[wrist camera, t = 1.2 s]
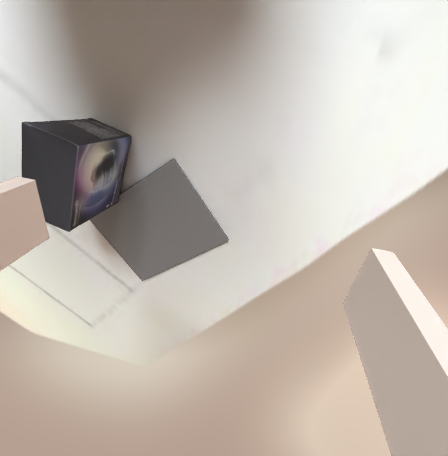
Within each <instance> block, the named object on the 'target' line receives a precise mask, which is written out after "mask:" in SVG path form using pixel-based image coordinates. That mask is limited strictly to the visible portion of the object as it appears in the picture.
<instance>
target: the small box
mask: <svg viewBox="0 0 448 456" xmlns="http://www.w3.org/2000/svg"><path fill="white" fill-rule="evenodd" d="M130 141H131V136H130V135H128V134H126V133H124V132H122V131H119V130H117V129H115V128H113V127H110V126H108V125H106V124H103V123H101V122H99V121H97V120H94V119H92V118H89V119H81V120H62V121H49V122H48V121H46V122H22V177H23V178H28V179H33V180H35V181H36V185H37V190H38V194H39V198H40V202H41V206H42V210H43V214H44V218H45V222H47V223H49V224H52V225H54V226H56V227H59V228H61V229H63V230H66V231H68V232H70V231H71V230H72V229H74V228H76V227H77V226H79V225H81V224H83V223H84V222H86V221H88V220H89V219H91V218H93V217H94V216H96V215H98V214H99V213H101V212H103V211H104V210H106V209H108V208H110V207H111V206H113V205H115V204H116V203H118V200H119V195H120V190H121V185H122V180H123V175H124V170H125V165H126V160H127V155H128V150H129V145H130Z"/></svg>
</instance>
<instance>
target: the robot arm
mask: <svg viewBox="0 0 448 456" xmlns="http://www.w3.org/2000/svg"><path fill="white" fill-rule="evenodd" d="M48 238H49V235H48V231H47V226H46V222H45V218H44V214H43V210H42V206H41V202H40V198H39V194H38V190H37V185H36V181H35V180H33V179H28V178H23V177H18V176H17V177H15V178H12V179H9V180H6V181H3V182H1V183H0V271H1V270H2V269H4V268H5V267H7V266H8V265H10V264H11V263H13V262H14V261H16V260H17V259H19V258H20V257H22V256H23V255H25V254H26V253H27V252H29V251H30V250H32V249H33V248H35V247H36V246H38V245H39V244H41V243H42V242H44V241H45V240H47V239H48ZM343 304H344V307H345V310H346V313H347V317H348V319H349V323H350V326H351V329H352V332H353V335H354V339H355V342H356V345H357V348H358V351H359V355H360V358H361V361H362V364H363V367H364V371H365V373H366V377H367V380H368V383H369V386H370V389H371V393H372V396H373V399H374V402H375V405H376V408H377V412H378V415H379V418H380V421H381V424H382V428H383V431H384V434H385V437H386V440H387V444H388V447H389V450H390V453H391V456H448V329H447V327H446V326H445V325H444V323H443V322H442V320H441V319H440V318H439V316H438V315H437V313H436V312H435V311H434V309H433V308H432V306H431V305H430V304H429V302H428V301H427V299H426V298H425V297H424V295H423V294H422V292H421V291H420V289H419V288H418V287H417V285H416V284H415V282H414V281H413V280H412V278H411V277H410V275H409V274H408V273H407V271H406V270H405V269H404V267H403V265H402V264H401V263H400V261H399V260H398V258H397V257H396V256H395V254H394V253H393V252H389V251H384V250H379V249H373V248H371V249H370V251H369V253H368V255H367V257H366V259H365V261H364V263H363V265H362V267H361V269H360V271H359V273H358V275H357V277H356V279H355V281H354V282H353V285H352V286H351V288H350V290H349V292H348V294H347V296H346V298H345V300H344V302H343Z"/></svg>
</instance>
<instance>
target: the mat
mask: <svg viewBox="0 0 448 456" xmlns="http://www.w3.org/2000/svg"><path fill="white" fill-rule="evenodd" d="M89 220H90V221H91V222H92V223H93V224H94V226H95V227H96V228H97V229H98V230H99V231H100V233H101V234H102V235H103V236H104V237H105V238H106V239H107V241H108V242H109V243H110V244H111V245H112V246H113V248H114V249H115V250H116V251H117V252H118V253H119V255H120V256H121V257H122V258H123V259H124V260H125V262H126V263H127V264H128V265H129V266H130V267H131V269H132V270H133V271H134V272H135V273H136V274H137V276H138V277H139V278H140V279H141V280H142V281H143V280H145V279H148V278H150V277H152V276H154V275H156V274H158V273H160V272H163V271H165V270H167V269H169V268H171V267H173V266H176V265H178V264H180V263H182V262H184V261H186V260H188V259H191V258H193V257H195V256H197V255H199V254H201V253H204V252H206V251H208V250H210V249H212V248H214V247H217V246H219V245H221V244H223V243H225V242H227V241H228V240H229V239H228V238H227V236H226V235H225V233H224V232H223V230H222V229H221V227H220V226H219V224H218V223H217V221H216V220H215V218H214V217H213V215H212V214H211V212H210V211H209V210H208V208H207V207H206V205H205V204H204V202H203V201H202V199H201V198H200V196H199V195H198V193H197V192H196V190H195V189H194V187H193V186H192V184H191V183H190V181H189V180H188V178H187V177H186V175H185V174H184V172H183V171H182V169H181V168H180V166H179V165H178V163H177V162H176V160H175V159H172V160H171V161H169V162H168V163H166V164H165V165H163V166H162V167H160V168H159V169H157V170H156V171H154V172H153V173H151V174H150V175H149V176H147V177H146V178H144V179H143V180H141V181H140V182H138V183H137V184H135V185H134V186H132V187H131V188H129V189H128V190H126V191H125V192H123V193H122V194H120V195H119V200H118V203H116V204H115V205H113V206H111V207H110V208H108V209H106V210H104V211H103V212H101V213H99V214H98V215H96V216H94V217H93V218H91V219H89Z"/></svg>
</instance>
